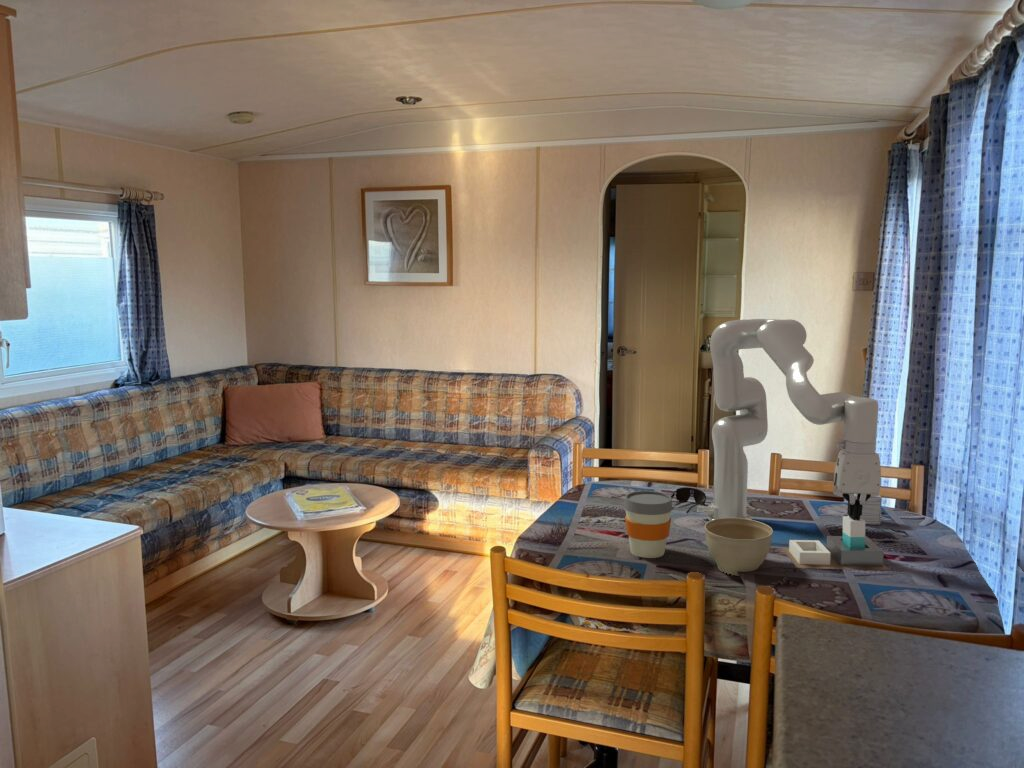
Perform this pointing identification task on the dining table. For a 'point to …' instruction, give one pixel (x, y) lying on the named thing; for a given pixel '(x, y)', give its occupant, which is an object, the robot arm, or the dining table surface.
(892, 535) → the dining table surface
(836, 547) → the port block
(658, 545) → the reusable coffee cup
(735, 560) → the planter bowl
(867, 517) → the medicine box
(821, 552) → the white rectangular frame
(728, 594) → the dining table surface
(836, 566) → the panel board
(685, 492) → the sunglasses
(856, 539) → the plug
